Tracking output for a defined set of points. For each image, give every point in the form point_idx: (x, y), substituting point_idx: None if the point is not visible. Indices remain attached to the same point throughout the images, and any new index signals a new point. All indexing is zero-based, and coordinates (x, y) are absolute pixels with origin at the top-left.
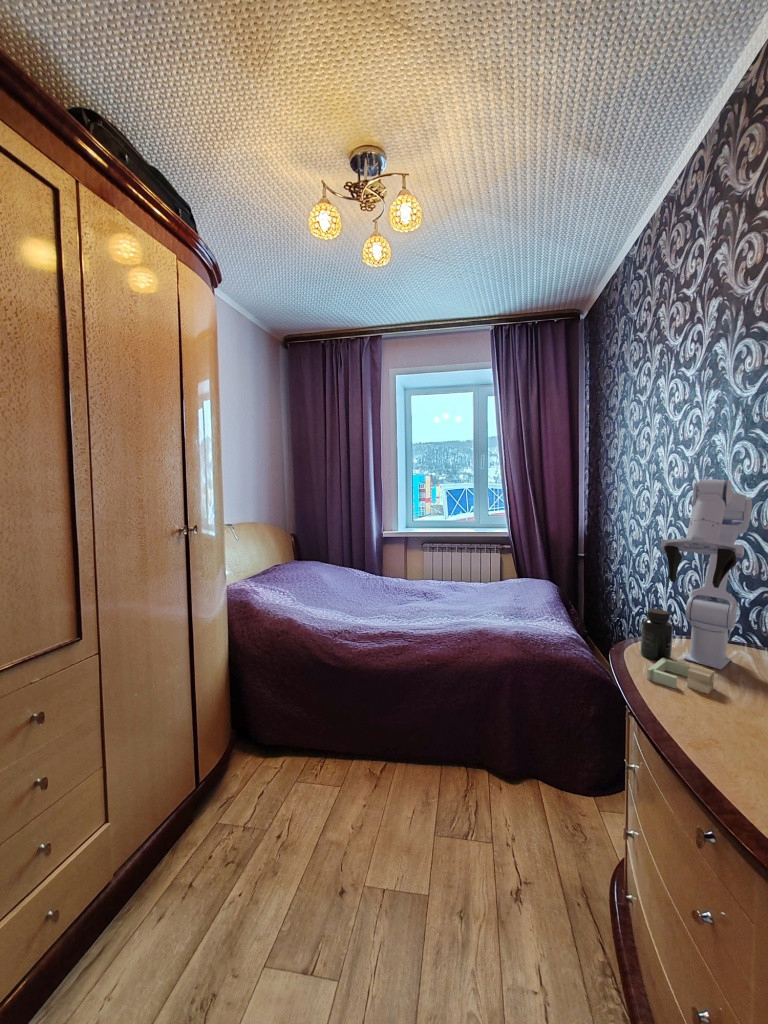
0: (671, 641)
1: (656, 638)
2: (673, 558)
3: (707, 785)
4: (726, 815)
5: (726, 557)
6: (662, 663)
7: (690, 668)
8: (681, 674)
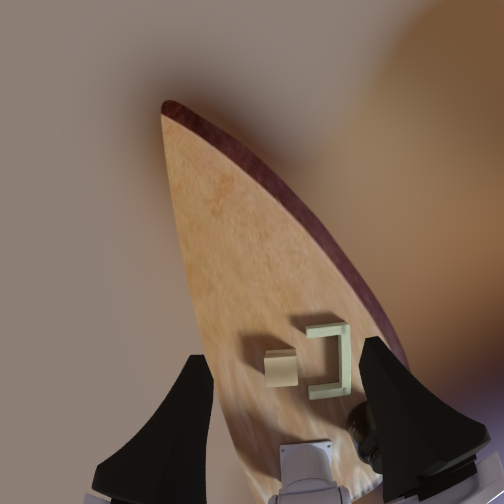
0: (352, 438)
1: (373, 419)
2: (412, 407)
3: (198, 128)
4: (179, 108)
5: (122, 454)
6: (342, 370)
7: (296, 366)
8: (316, 385)
